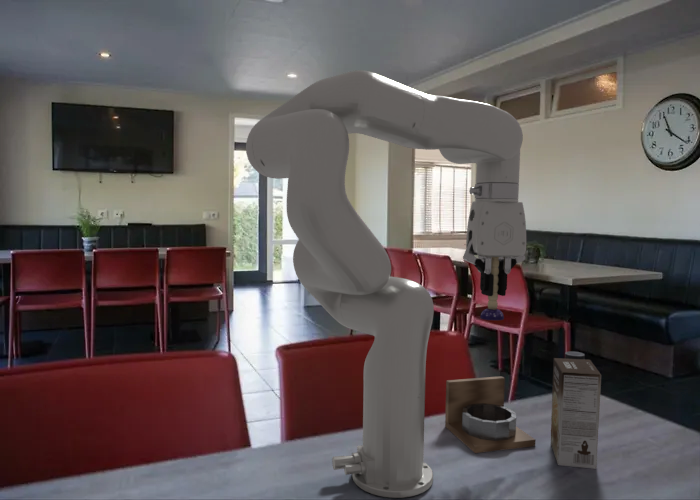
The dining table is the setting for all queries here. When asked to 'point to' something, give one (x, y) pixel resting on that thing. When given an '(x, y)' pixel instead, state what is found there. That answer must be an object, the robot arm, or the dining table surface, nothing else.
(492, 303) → the toy lamp
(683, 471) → the dining table surface
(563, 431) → the coffee box
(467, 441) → the bracket
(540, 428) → the dining table surface
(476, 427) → the grey faceted ring
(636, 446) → the dining table surface
